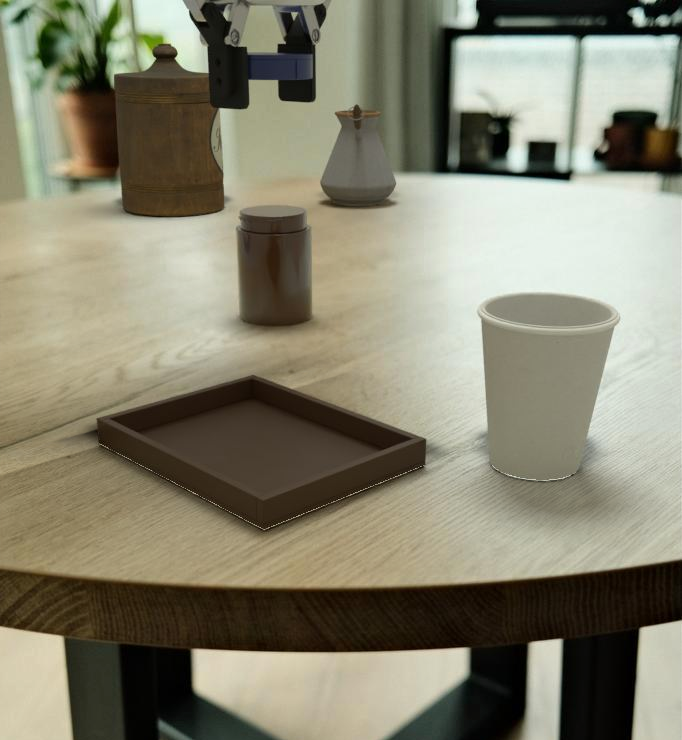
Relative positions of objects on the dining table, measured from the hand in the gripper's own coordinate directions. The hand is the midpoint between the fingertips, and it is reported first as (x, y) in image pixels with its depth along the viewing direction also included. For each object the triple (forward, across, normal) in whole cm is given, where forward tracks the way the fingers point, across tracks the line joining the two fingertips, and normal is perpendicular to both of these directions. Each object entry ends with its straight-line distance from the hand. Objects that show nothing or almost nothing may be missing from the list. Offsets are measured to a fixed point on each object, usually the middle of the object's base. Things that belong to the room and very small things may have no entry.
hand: (264, 102), depth 75 cm
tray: (+20, -16, -12) cm, 28 cm away
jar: (+20, +8, +6) cm, 22 cm away
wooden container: (+20, +49, +58) cm, 79 cm away
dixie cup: (+20, -7, -27) cm, 34 cm away
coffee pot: (+20, +65, +37) cm, 77 cm away
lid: (-3, 0, 0) cm, 3 cm away
